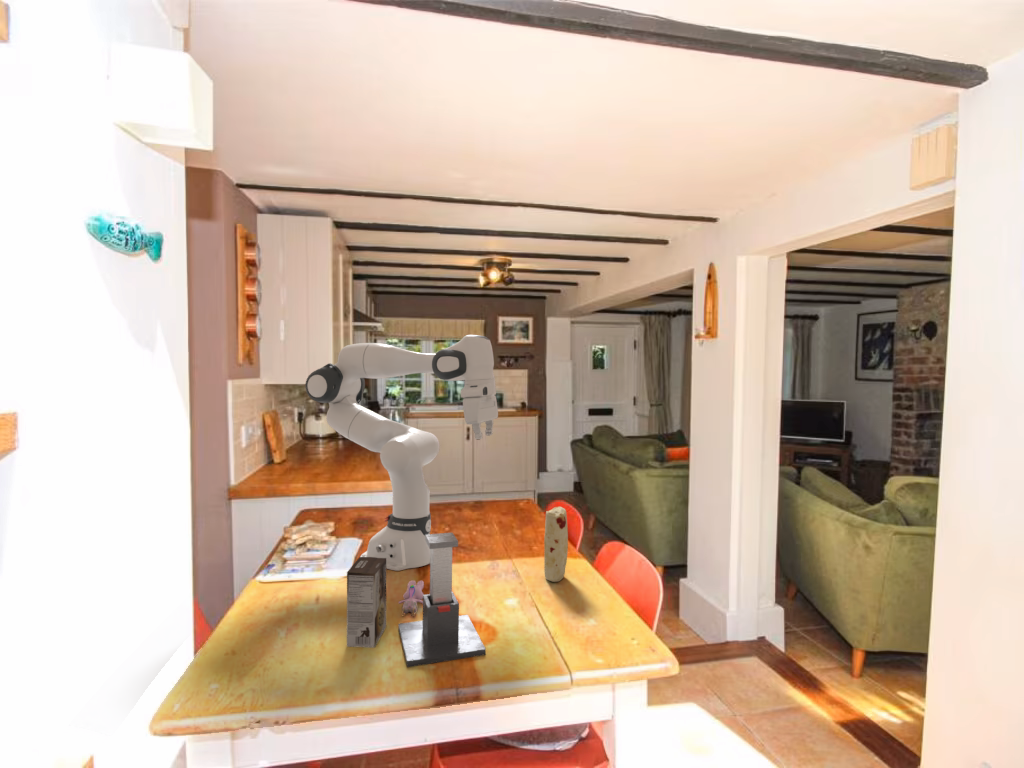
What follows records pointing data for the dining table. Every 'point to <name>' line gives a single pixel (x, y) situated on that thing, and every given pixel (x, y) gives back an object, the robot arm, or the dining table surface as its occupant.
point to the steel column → (441, 567)
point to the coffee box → (366, 602)
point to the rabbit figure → (412, 597)
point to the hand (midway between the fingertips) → (484, 437)
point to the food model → (555, 544)
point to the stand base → (439, 635)
